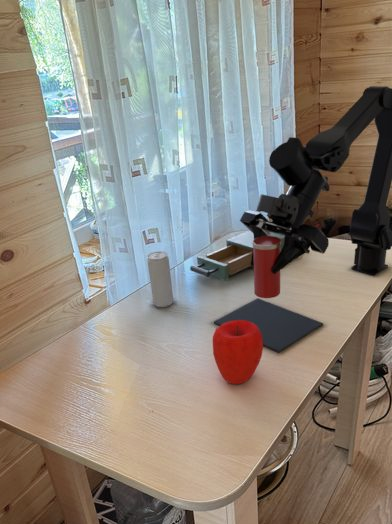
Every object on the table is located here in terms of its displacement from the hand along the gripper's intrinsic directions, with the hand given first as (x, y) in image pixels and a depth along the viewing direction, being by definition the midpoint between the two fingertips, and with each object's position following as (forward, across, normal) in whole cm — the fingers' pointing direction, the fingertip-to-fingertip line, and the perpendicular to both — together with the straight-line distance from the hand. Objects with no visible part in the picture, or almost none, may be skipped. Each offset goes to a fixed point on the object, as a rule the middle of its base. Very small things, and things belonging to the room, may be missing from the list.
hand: (262, 269), depth 101 cm
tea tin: (+3, 0, +5) cm, 6 cm away
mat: (+8, 0, +10) cm, 13 cm away
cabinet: (-10, -27, +29) cm, 41 cm away
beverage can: (+14, -25, +4) cm, 29 cm away
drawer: (-1, -26, +18) cm, 32 cm away
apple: (+21, +10, -2) cm, 23 cm away
